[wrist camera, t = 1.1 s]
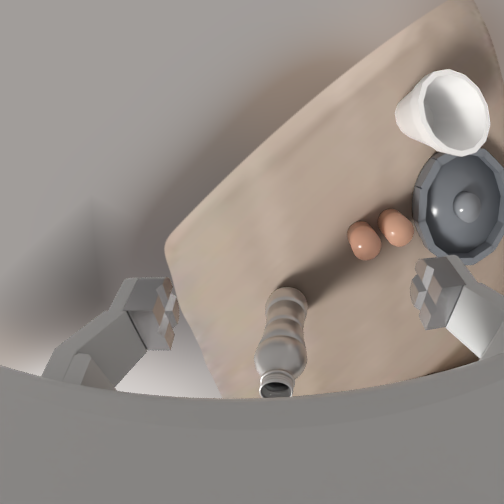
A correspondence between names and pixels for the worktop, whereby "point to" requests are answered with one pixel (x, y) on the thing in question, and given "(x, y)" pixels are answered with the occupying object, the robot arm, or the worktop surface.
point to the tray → (441, 205)
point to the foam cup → (445, 113)
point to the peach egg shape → (364, 240)
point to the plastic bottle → (282, 343)
